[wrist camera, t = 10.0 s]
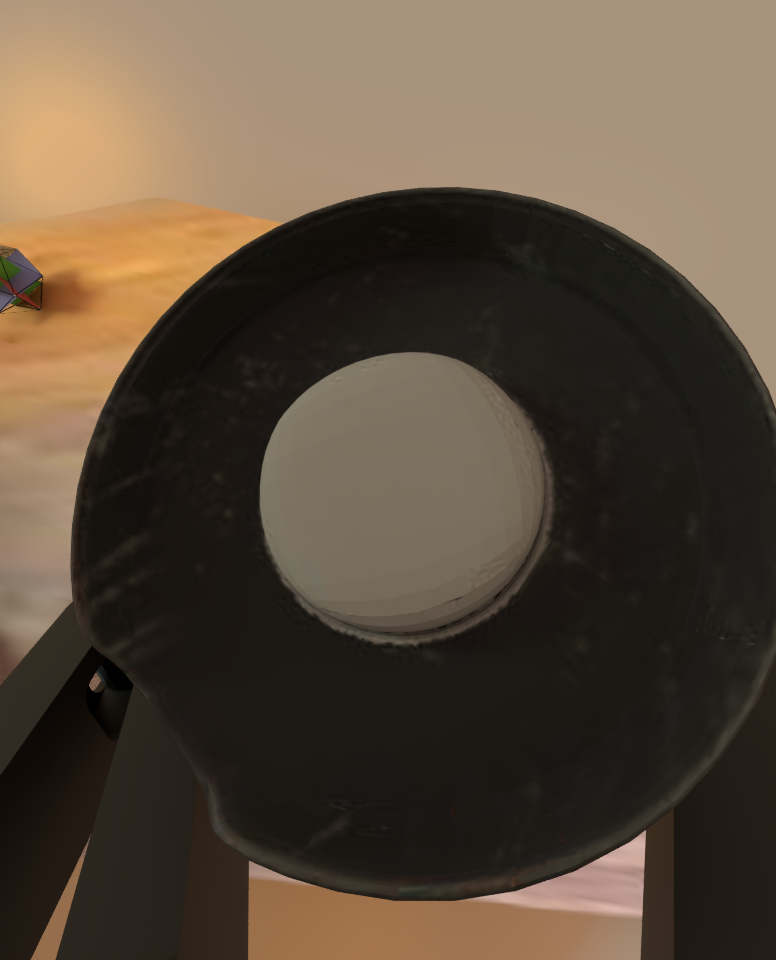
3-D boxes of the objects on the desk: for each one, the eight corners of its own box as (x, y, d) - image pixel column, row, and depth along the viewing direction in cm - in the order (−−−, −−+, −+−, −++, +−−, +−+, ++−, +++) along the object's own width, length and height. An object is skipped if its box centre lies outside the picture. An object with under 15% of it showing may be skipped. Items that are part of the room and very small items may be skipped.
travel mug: (521, 509, 24) (713, 120, 5) (537, 662, 22) (983, 986, 3) (380, 516, 25) (114, 226, 6) (382, 662, 23) (-19, 891, 4)
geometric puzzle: (58, 292, 51) (-16, 226, 47) (11, 332, 51) (-68, 269, 46) (68, 291, 57) (4, 232, 53) (26, 326, 57) (-42, 270, 52)
